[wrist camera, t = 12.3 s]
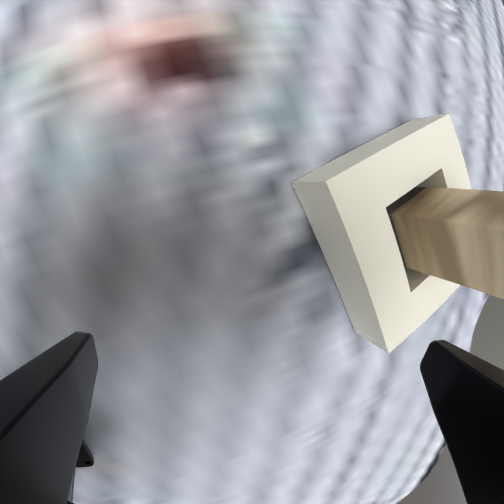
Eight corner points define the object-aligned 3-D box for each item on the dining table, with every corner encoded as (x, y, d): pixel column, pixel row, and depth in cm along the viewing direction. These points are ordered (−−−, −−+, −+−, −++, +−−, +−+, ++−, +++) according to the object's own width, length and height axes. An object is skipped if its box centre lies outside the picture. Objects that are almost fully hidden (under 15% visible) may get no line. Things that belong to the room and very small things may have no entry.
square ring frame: (354, 331, 23) (388, 353, 19) (291, 182, 19) (325, 181, 16) (449, 250, 25) (483, 258, 22) (411, 120, 22) (449, 113, 18)
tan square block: (378, 259, 23) (537, 310, 10) (361, 210, 21) (537, 236, 9) (412, 232, 23) (561, 265, 11) (398, 186, 22) (559, 197, 10)
